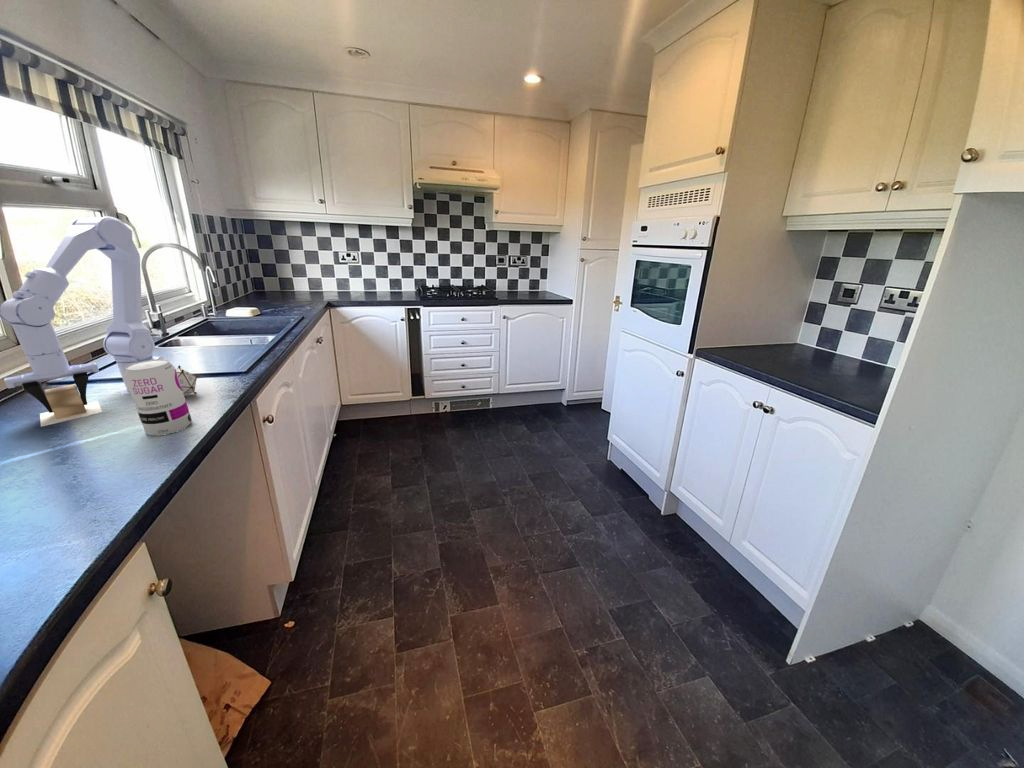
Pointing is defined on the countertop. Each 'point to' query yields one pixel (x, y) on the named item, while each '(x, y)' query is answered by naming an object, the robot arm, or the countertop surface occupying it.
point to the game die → (186, 381)
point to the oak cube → (65, 401)
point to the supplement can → (158, 396)
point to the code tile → (51, 419)
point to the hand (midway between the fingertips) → (68, 407)
